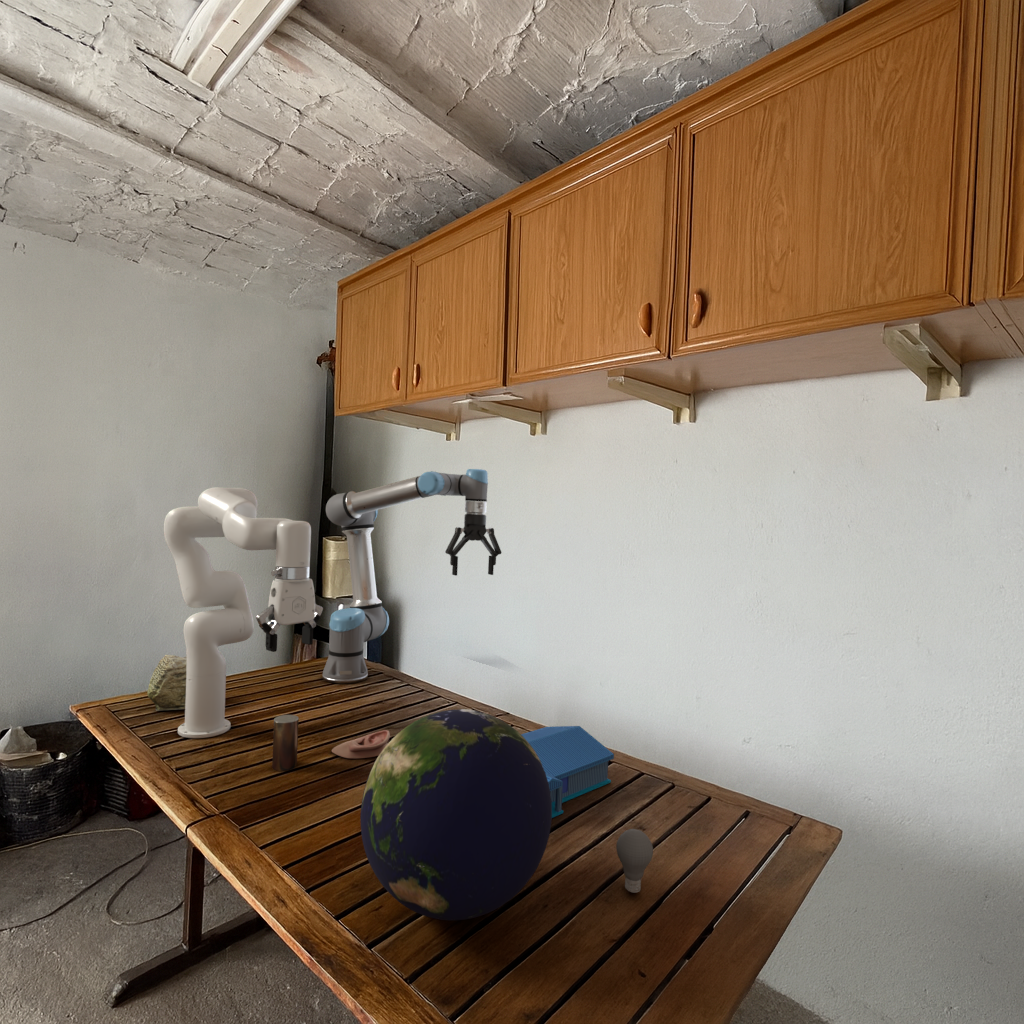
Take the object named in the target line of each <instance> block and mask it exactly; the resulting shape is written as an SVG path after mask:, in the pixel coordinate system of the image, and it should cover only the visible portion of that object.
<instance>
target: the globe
mask: <svg viewBox="0 0 1024 1024" xmlns="http://www.w3.org/2000/svg"><path fill="white" fill-rule="evenodd" d="M521 734H522V733H520V732H519V731H518V730H517V729H515V728H514V727H512V726H511V725H510V724H509V723H507V722H505V721H504V720H502V719H500V718H498V717H496V716H494V715H491V714H489V713H486V712H482V711H478V710H473V709H469V708H468V709H467V708H461V709H460V708H459V709H448V710H442V711H437V712H434V713H430V714H427V715H426V716H423V717H420V718H419V719H417V720H415V721H413V722H411V723H410V724H408V725H407V726H406V727H404V728H403V729H401V731H399V732H398V733H397V734H396V735H394V736H393V738H391V740H390V741H388V742H387V743H388V744H387V745H386V746H385V748H384V749H383V750H382V752H381V753H380V755H378V756H377V758H376V759H375V761H374V764H373V765H372V767H371V770H370V772H369V774H368V777H367V780H366V783H365V786H364V789H363V794H362V798H361V804H360V805H361V806H360V832H361V833H360V834H361V839H362V840H361V841H362V844H363V849H364V852H365V856H366V858H367V860H368V864H369V866H370V868H371V870H372V871H373V873H374V875H375V877H376V878H377V880H378V881H379V882H380V884H381V886H382V887H383V888H384V889H385V890H386V891H387V892H388V894H389V895H391V896H392V898H393V899H394V900H396V901H397V902H398V903H400V904H401V905H402V906H404V907H405V908H407V909H409V910H410V911H413V912H415V913H417V914H418V915H421V916H423V917H426V918H431V919H434V920H440V921H448V922H449V921H451V922H452V921H464V920H471V919H475V918H478V917H482V916H484V915H487V914H489V913H491V912H493V911H496V910H497V909H499V908H501V907H502V906H504V905H505V904H507V903H508V902H510V901H511V900H512V899H513V898H514V897H515V896H516V895H518V894H519V893H520V892H521V891H522V890H523V888H524V887H525V886H527V884H528V882H529V881H530V880H531V878H532V877H533V875H534V874H535V872H536V871H537V869H538V867H539V865H540V863H541V861H542V859H543V857H544V854H545V851H546V848H547V846H548V842H549V838H550V834H551V827H552V819H553V818H552V802H551V794H550V788H549V784H548V780H547V777H546V774H545V771H544V769H543V766H542V763H541V761H540V759H539V757H538V756H537V754H536V752H535V751H534V749H533V748H532V746H531V745H530V744H529V743H528V742H527V740H526V739H525V738H524V737H523V736H522V735H521Z"/></svg>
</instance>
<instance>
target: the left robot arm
mask: <svg viewBox="0 0 1024 1024" xmlns="http://www.w3.org/2000/svg"><path fill="white" fill-rule="evenodd" d="M258 507H259V502H258V497H257V496H256V494H255V493H254V492H253V491H251V490H250V489H248V488H244V487H229V486H228V487H226V486H225V487H224V486H214V487H209V488H207V489H205V490H203V491H202V492H201V493H200V494H199V496H198V499H197V506H196V505H195V506H193V505H192V506H191V505H189V506H179V507H176V508H173V509H171V510H170V511H168V513H167V514H166V515H165V517H164V521H163V534H164V535H163V536H164V540H165V543H166V545H167V547H168V549H169V551H170V554H171V556H172V558H173V561H174V563H175V567H176V573H177V576H178V582H179V586H180V591H181V595H182V598H183V601H184V604H185V605H186V606H187V607H189V608H193V609H200V608H201V609H202V608H203V609H204V608H211V607H220V606H223V608H221V609H220V608H219V609H218V608H217V609H210V610H203V611H199V612H196V613H193V614H191V615H190V616H188V617H187V618H186V620H185V621H184V623H183V638H184V643H185V645H184V646H185V653H186V654H185V657H187V667H186V701H185V709H184V722H182V724H180V725H179V726H178V727H177V734H178V735H179V736H180V737H182V738H188V739H207V738H212V737H216V736H220V735H222V734H224V733H227V732H228V731H230V729H231V727H232V725H231V723H232V722H231V721H230V720H228V719H226V718H225V715H226V692H227V691H226V689H227V661H226V658H225V656H224V654H223V653H222V652H221V651H220V649H219V647H220V646H221V647H222V646H224V645H231V644H235V643H242V642H246V641H247V640H249V639H250V638H252V635H253V634H254V629H255V622H254V621H255V620H254V616H253V611H252V607H251V603H250V599H249V594H248V591H247V585H246V584H245V583H246V582H245V580H244V579H243V577H242V576H241V575H240V573H238V572H236V571H234V570H215V569H214V568H213V564H212V559H211V556H210V554H209V552H208V551H207V549H206V548H205V547H204V546H203V545H202V544H201V543H199V542H198V541H197V540H196V538H197V539H199V538H200V539H201V538H225V539H226V540H227V542H229V543H231V544H233V545H234V546H236V547H238V548H240V549H242V550H246V551H265V550H266V551H267V550H268V551H269V550H273V551H275V566H274V569H272V570H271V572H270V575H271V577H274V579H273V580H272V583H271V586H270V590H269V597H268V604H267V608H265V609H264V610H262V611H260V612H259V613H258V614H256V616H255V619H256V621H257V623H258V626H259V628H260V629H261V630H262V631H263V633H265V650H266V651H269V652H272V653H276V652H277V651H278V634H277V633H276V632H277V631H278V629H279V628H280V626H288V625H290V626H291V625H296V624H304V625H303V626H302V627H301V629H302V631H301V643H302V644H305V645H309V646H312V645H313V643H314V642H313V641H314V640H313V639H314V628H315V627H317V623H318V622H319V620H320V619H321V615H322V613H323V610H324V608H323V607H322V606H321V605H318V604H317V603H316V596H315V595H316V594H315V587H314V581H313V579H312V578H310V571H311V569H310V567H311V545H312V543H311V541H312V526H311V524H310V523H309V522H308V521H305V520H294V519H291V518H285V517H257V516H258ZM266 619H267V620H268V622H267V620H266Z"/></svg>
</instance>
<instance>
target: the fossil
mask: <svg viewBox="0 0 1024 1024" xmlns="http://www.w3.org/2000/svg"><path fill="white" fill-rule="evenodd" d="M186 667H187V656H183V657H182V656H178V655H175V654H174V655H173V654H165V655H164V656H163V657H162V658H161V659H160V660H159V662H158V663H157V666H156V667H155V669H154V670H153V672H152V675H151V677H150V680H149V684H148V688H147V697H148V699H149V700H150V701H152V703H153V704H154V706H155V711H158V712H159V711H162V712H163V711H177V710H185V701H186Z"/></svg>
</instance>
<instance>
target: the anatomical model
mask: <svg viewBox="0 0 1024 1024" xmlns="http://www.w3.org/2000/svg"><path fill="white" fill-rule="evenodd" d="M390 738H391V732H390V730H388V729H387V730H386V729H384V730H379V731H376V732H373V733H372V732H371V733H369V734H367V735H363V736H361V737H357V738H356V739H351V740H348V741H344V742H342V743H339V744H338V745H336V746H334V747H333V748H332V749H331V752H332V753H333V754H334V755H337V756H339V757H342V758H344V759H365V758H367V759H368V758H374V757H378V756H379V755H380V753H381V752H382V750H383V749H384V748H385V746H386V745H387V744H388V743H389V740H390Z"/></svg>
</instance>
